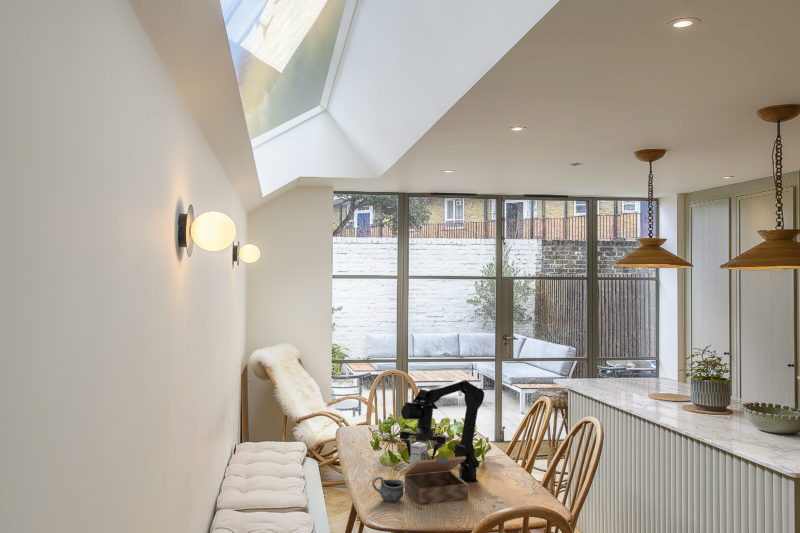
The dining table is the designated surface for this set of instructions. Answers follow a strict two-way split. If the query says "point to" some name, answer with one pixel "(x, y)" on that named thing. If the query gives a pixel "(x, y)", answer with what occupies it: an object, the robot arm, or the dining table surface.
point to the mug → (389, 489)
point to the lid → (434, 465)
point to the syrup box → (418, 453)
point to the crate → (436, 487)
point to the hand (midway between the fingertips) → (421, 458)
